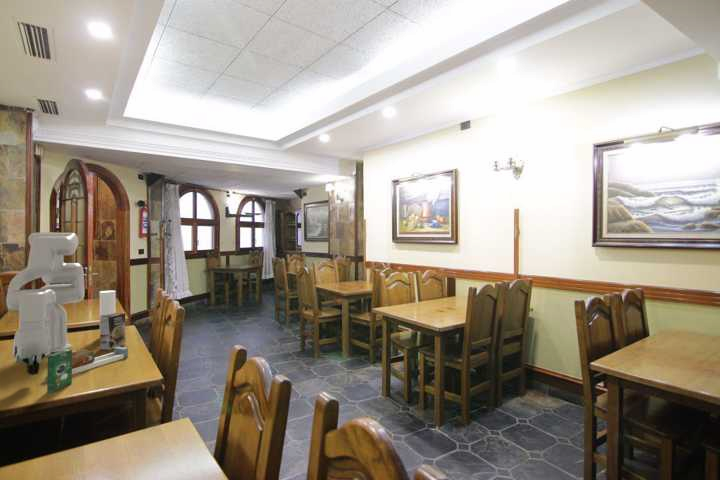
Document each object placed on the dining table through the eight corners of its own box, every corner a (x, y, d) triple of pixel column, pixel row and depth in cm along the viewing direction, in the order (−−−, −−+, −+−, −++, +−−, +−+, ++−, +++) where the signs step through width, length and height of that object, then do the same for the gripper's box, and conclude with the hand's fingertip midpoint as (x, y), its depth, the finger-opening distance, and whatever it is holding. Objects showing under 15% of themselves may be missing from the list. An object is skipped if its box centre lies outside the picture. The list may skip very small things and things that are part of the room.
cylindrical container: (109, 339, 195) (109, 292, 195) (96, 339, 195) (96, 292, 195) (118, 335, 202) (118, 290, 202) (106, 335, 202) (105, 290, 202)
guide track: (47, 376, 144) (47, 366, 143) (118, 355, 169) (118, 346, 169) (57, 379, 141) (57, 369, 141) (127, 357, 167) (127, 348, 167)
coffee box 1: (65, 383, 138) (65, 348, 137) (73, 383, 137) (72, 348, 137) (46, 392, 129) (46, 355, 129) (54, 392, 129) (54, 355, 129)
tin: (50, 379, 141) (50, 357, 141) (47, 377, 143) (47, 355, 143) (95, 367, 154) (94, 347, 154) (91, 365, 156) (91, 346, 156)
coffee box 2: (110, 350, 176) (110, 317, 176) (99, 349, 178) (99, 316, 177) (126, 344, 185) (126, 313, 185) (115, 343, 187) (115, 312, 186)
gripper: (50, 320, 145) (50, 366, 145) (1, 328, 131) (2, 379, 131) (61, 321, 142) (62, 368, 142) (12, 330, 128) (13, 382, 128)
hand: (33, 373), depth 136 cm, fingers closed
